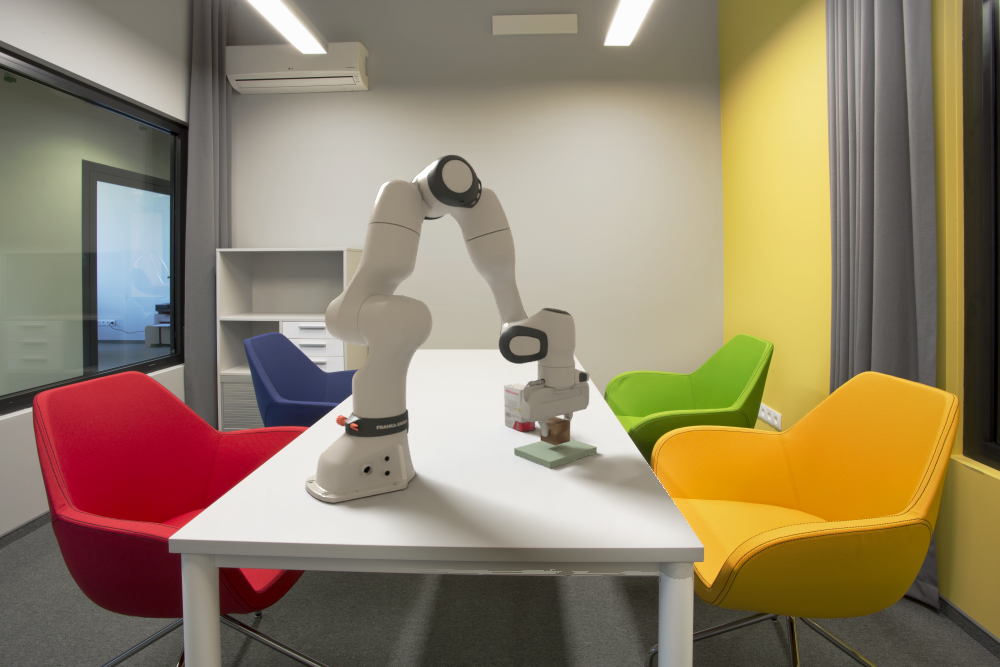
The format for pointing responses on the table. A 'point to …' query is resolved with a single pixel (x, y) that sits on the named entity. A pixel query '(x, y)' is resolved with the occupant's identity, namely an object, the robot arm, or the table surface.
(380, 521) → the table surface
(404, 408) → the robot arm
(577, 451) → the sage board
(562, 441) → the walnut cube
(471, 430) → the table surface
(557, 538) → the table surface
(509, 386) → the ink box
